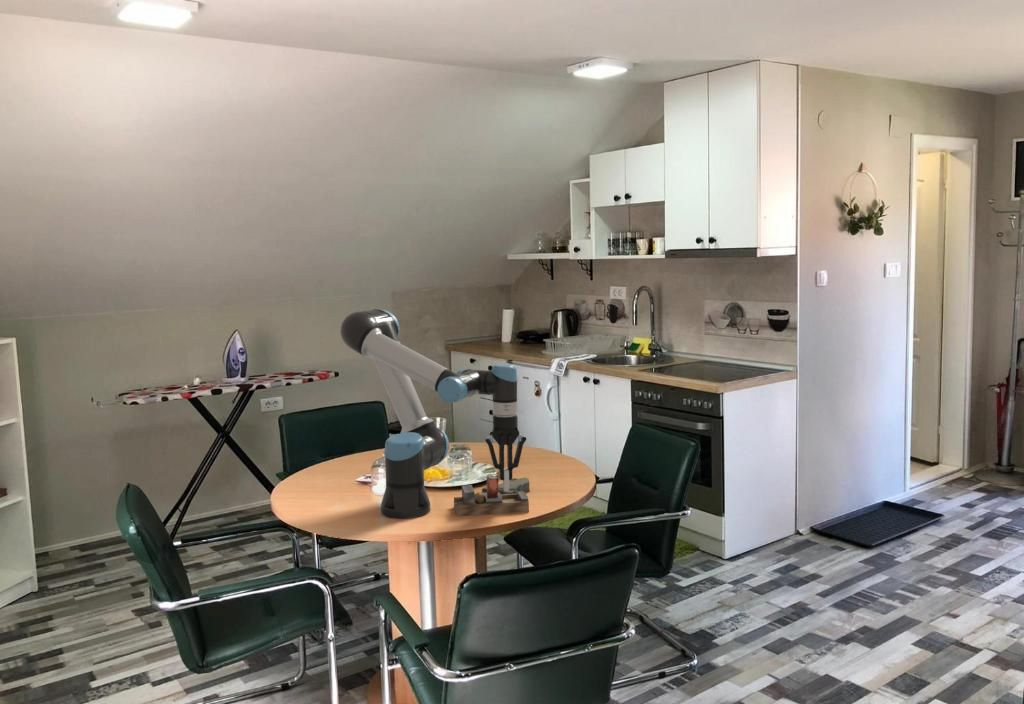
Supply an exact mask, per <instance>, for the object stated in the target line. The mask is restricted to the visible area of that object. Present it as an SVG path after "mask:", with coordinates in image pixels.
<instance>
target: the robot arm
mask: <svg viewBox="0 0 1024 704" xmlns="http://www.w3.org/2000/svg"><path fill="white" fill-rule="evenodd" d="M341 322H342V323H341V325H340V336H341V339H342V341H343V343H344V344H345V345H346V347H348V348H349V349H351V350H352V351H355V352H356V353H357V354H360V355H361V356H364V357H366V358H369V359H371V360H373V363H374V365H375V367H376V369H377V373H378V374H379V376H380V378H381V379H380V380H381V381H382V384H383V385H384V389H385V390H386V393H387V395H388V397H389V401H390V402H391V404H392V407H393V409H394V412H395V413H396V416H397V418H398V421H399V423H400V426H401V431H400V433H396V434H393V435H391V436H389V437H388V438H387V439H386V441H385V444H384V464H385V465H384V467H385V490H384V493H383V496H382V500H381V504H380V514H381V515H382V516H385V517H388V518H392V519H410V518H417V517H422V516H424V515H427V514H428V513H430V512H431V501H430V499H429V496H428V493H427V490H426V487H425V472H424V471H425V470H428V469H430V468H432V467H435V466H436V465H439V464H440V463H441V462H442V461H444V459H445V458H446V457H447V455H448V453H449V450H450V442H449V438H448V437H449V436H448V435H447V434H446V433H445V431H444V430H442V429H440V428H438V426H437V425H436V423H435V420H434V419H433V418H429V417H428V416H427V414H426V412H425V410H424V407H423V405H422V402H421V400H420V398H419V395H418V393H417V391H416V388H415V386H414V383H413V382H412V379H413V380H414V381H416V382H418V383H420V384H422V385H424V386H426V388H427V387H428V388H430V389H431V390H433V391H434V392H437V394H438V396H439V398H441V400H442V401H443V402H445V403H449V404H452V403H458V402H461V401H463V400H465V399H467V398H471V397H473V396H476V395H485V396H486V395H487V396H492V414H493V416H492V431H491V434H490V435H489V436H488V437H487V436H486V437H484V441H485V442H486V443H485V444H487V445H488V446H487V447H488V449H489V453H490V457H491V460H492V461H491V462H492V464H493V465H492V466H493V467H494V469H496V470H499V480H501V481H502V483H503V490H504V491H509V480H512V479H513V469H515V468H516V469H517V468H518V467H519V465H520V460H521V455H522V452H523V446H524V444H525V442H526V441H527V437H526V436H525V435H523V434H521V433H520V431H519V429H518V415H517V414H518V381H519V380H518V374H517V373H518V372H517V366H516V365H514V364H511V363H510V364H509V363H496V364H494V365H492V368H491V370H486V369H485V370H484V369H483V370H482V369H471V368H467V369H459V370H458V371H457V372H454V371H452V370H450V369H449V368H447V367H446V366H443V365H442V364H439V363H437V362H436V361H434V360H433V359H430V358H428V357H426V356H425V355H422V354H421V353H419V352H417V351H415V350H413V349H411V348H409V347H408V346H406V345H404V344H402V343H401V341H400V339H399V336H400V335H399V334H400V331H401V330H400V323H399V321H398V319H397V317H396V316H395V315H394V314H393V313H391V312H390V311H389V310H385V309H380V308H379V309H378V308H377V309H376V308H374V309H371V310H370V309H369V310H364V311H355V312H352V313H349V314H348V315H347V316H346V317H345V318H344V319H343V320H342V321H341ZM494 440H495V442H496V443H497V444H498V459H499V460H497V456H496V452H495V449H494V448H495V447H494V445H493V443H494ZM515 441H518V442H517V445H516V449H515V454H514V458H513V444H514V443H515ZM505 446H506V447H507V448H506V452H507V453H506V455H507V456H506V457H507V458H506V460H507V461H506V462H507V468H505Z"/></svg>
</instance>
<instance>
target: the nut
mask: <svg viewBox="0 0 1024 704" xmlns="http://www.w3.org/2000/svg"><path fill="white" fill-rule="evenodd" d="M484 500H485V496H484V495H483V492H480V491H479V492H476V493H475V503H476V504H482V503H483V502H484Z"/></svg>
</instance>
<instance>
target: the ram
mask: <svg viewBox="0 0 1024 704" xmlns="http://www.w3.org/2000/svg"><path fill="white" fill-rule="evenodd" d="M498 485H499V474H497V473H488V474H486V486H487V492H485V493H483V492H482V494H483V495H484V496H485V500H484V502H485V503H502V496H501V494H500V492H499V488H498Z"/></svg>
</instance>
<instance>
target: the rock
mask: <svg viewBox="0 0 1024 704" xmlns="http://www.w3.org/2000/svg"><path fill="white" fill-rule="evenodd" d="M498 488H499V492H500V494H501V495H502V494H517V492H521V491H524V493H525V494H526V493H529V492H530V479H529V477H521V478H515V477H514V478H513V477H512V480H509V491H504V490H503V482H501V483H500V484H499V483H498ZM485 492H487V485H486V486H484V487H482V489H481V493H482V494H483V493H485Z"/></svg>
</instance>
